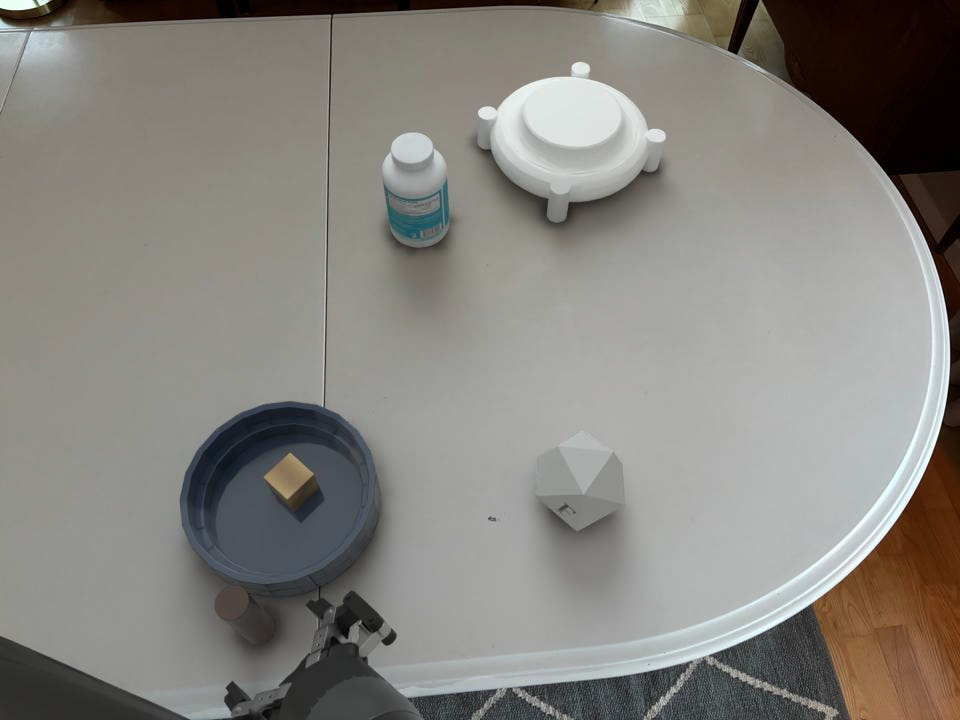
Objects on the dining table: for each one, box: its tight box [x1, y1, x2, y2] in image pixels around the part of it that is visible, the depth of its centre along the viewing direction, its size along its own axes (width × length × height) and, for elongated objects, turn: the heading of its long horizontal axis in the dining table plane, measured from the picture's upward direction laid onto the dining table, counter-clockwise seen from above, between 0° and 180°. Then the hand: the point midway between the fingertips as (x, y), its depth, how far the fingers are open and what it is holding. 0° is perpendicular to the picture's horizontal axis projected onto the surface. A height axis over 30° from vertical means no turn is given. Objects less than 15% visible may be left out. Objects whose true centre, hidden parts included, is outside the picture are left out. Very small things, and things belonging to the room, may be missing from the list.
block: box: [263, 453, 320, 512], centre depth 78 cm, size 4×4×4 cm
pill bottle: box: [381, 132, 450, 249], centre depth 92 cm, size 8×7×14 cm
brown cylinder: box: [214, 585, 276, 646], centre depth 69 cm, size 3×3×10 cm
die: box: [534, 430, 626, 532], centre depth 77 cm, size 8×9×10 cm
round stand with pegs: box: [477, 61, 667, 224], centre depth 102 cm, size 24×24×7 cm
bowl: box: [179, 400, 382, 598], centre depth 78 cm, size 18×19×5 cm
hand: (276, 648), depth 65 cm, fingers open, 8 cm apart
